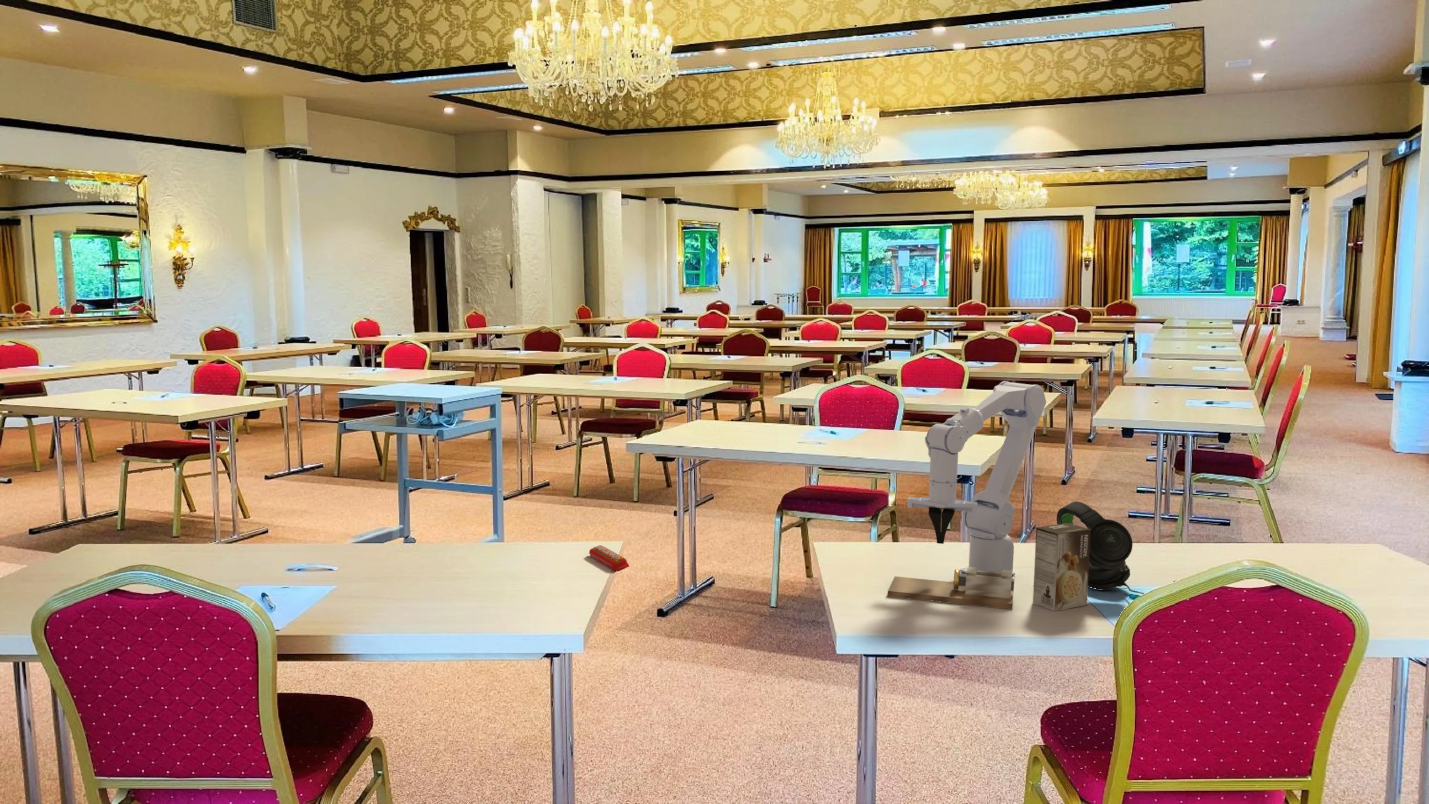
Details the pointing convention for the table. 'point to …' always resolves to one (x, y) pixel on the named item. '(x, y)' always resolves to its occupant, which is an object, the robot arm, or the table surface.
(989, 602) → the board
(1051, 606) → the coffee box
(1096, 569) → the headset
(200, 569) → the table surface
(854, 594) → the table surface
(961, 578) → the shaft
